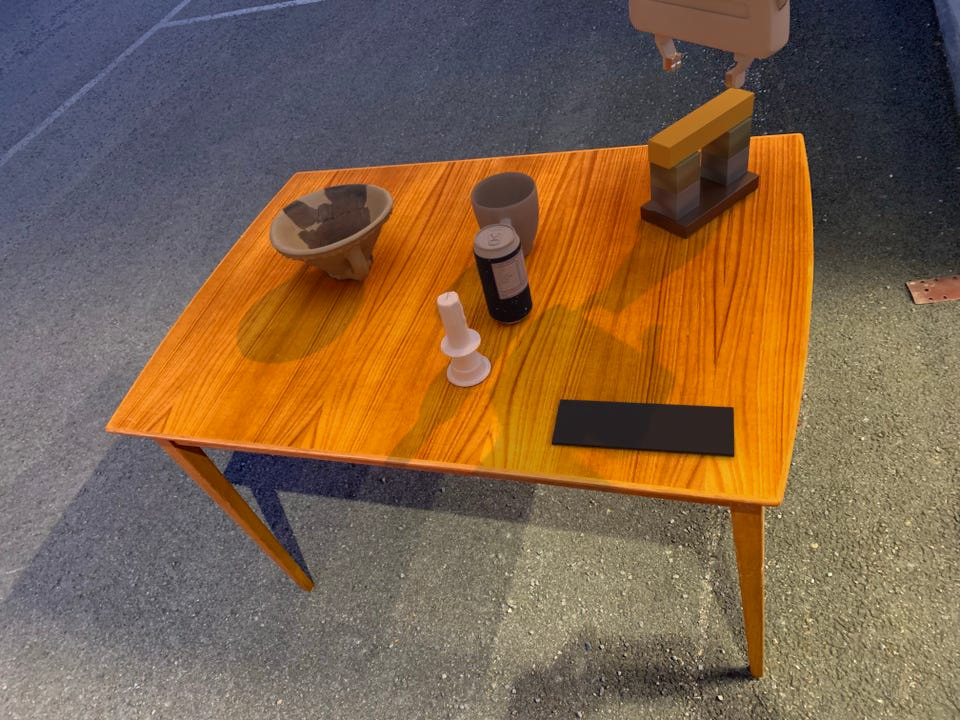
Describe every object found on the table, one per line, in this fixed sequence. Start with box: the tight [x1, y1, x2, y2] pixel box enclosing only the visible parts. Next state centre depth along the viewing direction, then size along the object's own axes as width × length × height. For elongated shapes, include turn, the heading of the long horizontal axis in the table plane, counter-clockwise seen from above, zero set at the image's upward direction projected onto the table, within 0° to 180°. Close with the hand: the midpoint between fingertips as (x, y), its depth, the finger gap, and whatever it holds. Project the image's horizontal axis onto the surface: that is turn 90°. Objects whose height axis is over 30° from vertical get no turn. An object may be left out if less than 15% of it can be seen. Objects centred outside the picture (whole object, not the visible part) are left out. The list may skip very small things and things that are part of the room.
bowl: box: [268, 183, 394, 282], centre depth 100 cm, size 18×18×10 cm
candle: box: [436, 291, 492, 388], centre depth 79 cm, size 5×5×12 cm
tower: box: [639, 116, 761, 240], centre depth 94 cm, size 8×15×10 cm, turn 128°
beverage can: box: [472, 224, 534, 325], centre depth 85 cm, size 6×6×12 cm
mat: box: [551, 398, 736, 458], centre depth 72 cm, size 18×6×1 cm, turn 77°
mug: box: [470, 171, 540, 257], centre depth 94 cm, size 12×9×10 cm
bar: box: [647, 87, 755, 169], centre depth 89 cm, size 4×16×3 cm, turn 128°
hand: (702, 77), depth 85 cm, fingers open, 8 cm apart
